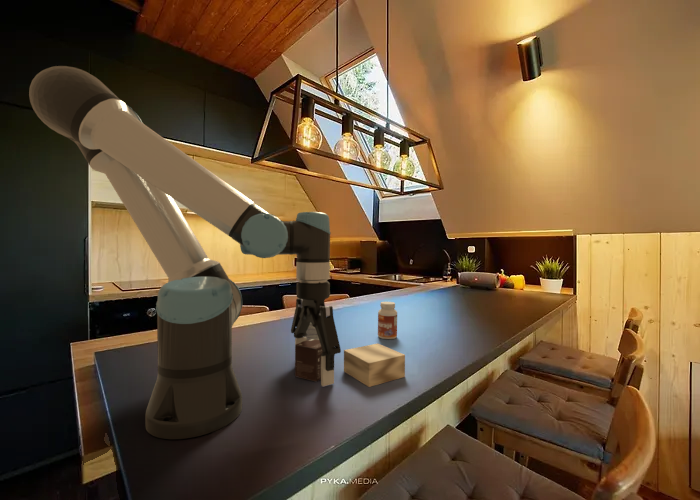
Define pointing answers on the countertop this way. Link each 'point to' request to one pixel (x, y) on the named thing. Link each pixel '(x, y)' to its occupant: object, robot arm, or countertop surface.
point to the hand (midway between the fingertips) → (313, 373)
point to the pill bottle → (387, 321)
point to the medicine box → (311, 333)
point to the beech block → (374, 364)
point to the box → (308, 360)
